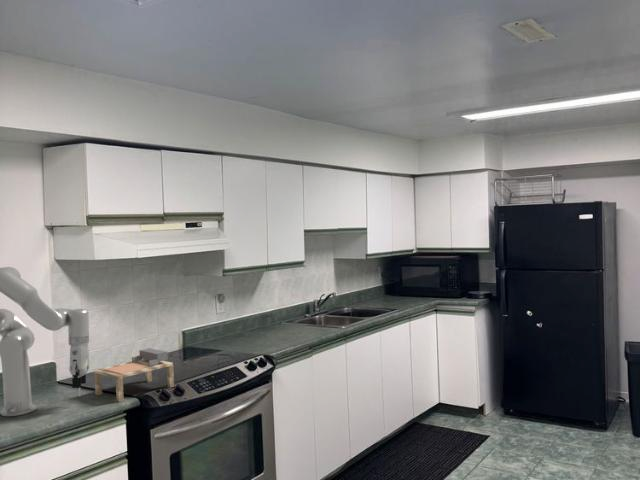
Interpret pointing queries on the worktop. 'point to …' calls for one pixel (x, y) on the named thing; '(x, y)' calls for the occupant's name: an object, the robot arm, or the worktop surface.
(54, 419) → the worktop surface
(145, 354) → the trapdoor
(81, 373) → the lollipop
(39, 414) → the worktop surface
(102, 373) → the trapdoor frame
